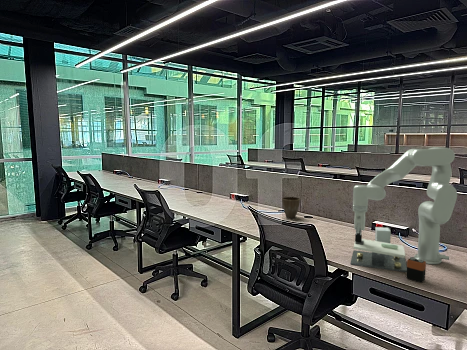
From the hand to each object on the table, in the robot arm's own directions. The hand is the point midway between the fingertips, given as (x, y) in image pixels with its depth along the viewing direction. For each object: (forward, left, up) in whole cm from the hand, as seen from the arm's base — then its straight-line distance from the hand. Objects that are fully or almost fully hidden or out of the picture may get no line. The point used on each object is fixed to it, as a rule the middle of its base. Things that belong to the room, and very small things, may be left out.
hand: (358, 241), depth 173 cm
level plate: (-10, 0, -4) cm, 11 cm away
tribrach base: (-10, 0, -10) cm, 14 cm away
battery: (-26, +17, -10) cm, 33 cm away
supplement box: (-12, -20, -10) cm, 25 cm away
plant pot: (+57, -76, -10) cm, 96 cm away
